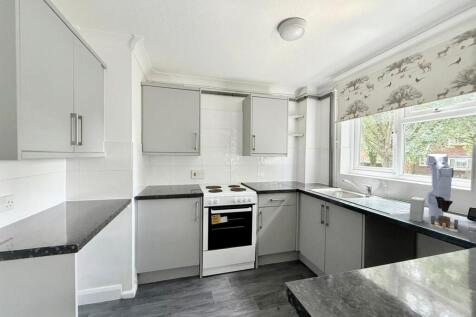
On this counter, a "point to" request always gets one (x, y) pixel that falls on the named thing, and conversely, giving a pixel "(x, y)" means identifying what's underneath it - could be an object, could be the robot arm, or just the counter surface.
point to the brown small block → (444, 220)
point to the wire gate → (446, 225)
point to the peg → (444, 226)
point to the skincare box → (417, 209)
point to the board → (446, 227)
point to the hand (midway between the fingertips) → (442, 210)
